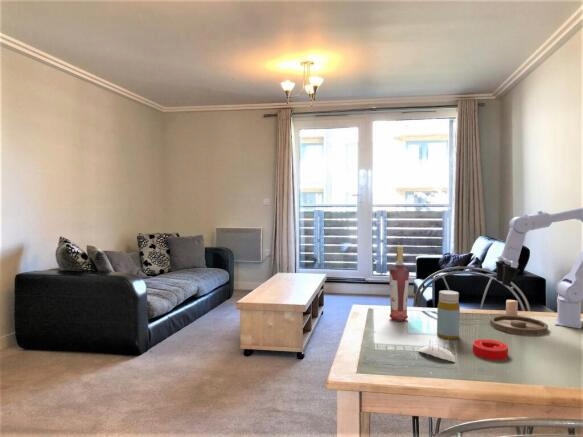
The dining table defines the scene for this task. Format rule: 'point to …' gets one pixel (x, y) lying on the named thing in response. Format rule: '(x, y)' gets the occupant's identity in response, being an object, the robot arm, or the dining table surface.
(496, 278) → the robot arm
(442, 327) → the bottle
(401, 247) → the liquor
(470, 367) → the dining table surface
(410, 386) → the dining table surface
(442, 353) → the pincushion
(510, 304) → the bead
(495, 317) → the groove tray
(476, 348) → the decorative ornament
